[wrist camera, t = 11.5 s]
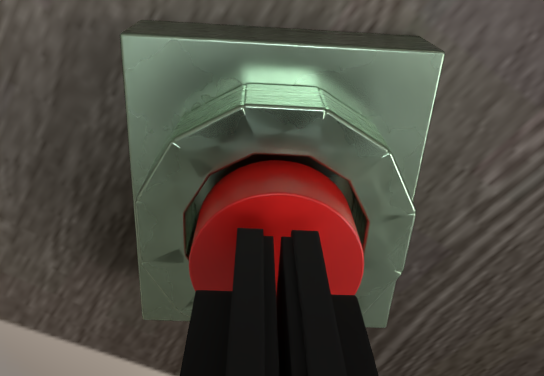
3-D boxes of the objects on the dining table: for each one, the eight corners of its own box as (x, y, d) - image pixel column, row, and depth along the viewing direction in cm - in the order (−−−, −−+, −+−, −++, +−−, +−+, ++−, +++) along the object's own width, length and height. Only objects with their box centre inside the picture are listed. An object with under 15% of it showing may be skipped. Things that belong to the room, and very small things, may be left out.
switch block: (373, 286, 18) (400, 371, 14) (155, 278, 18) (128, 363, 14) (421, 35, 14) (475, 68, 10) (139, 19, 14) (95, 47, 10)
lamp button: (342, 293, 14) (352, 339, 12) (198, 288, 13) (190, 334, 12) (362, 163, 12) (377, 197, 10) (197, 155, 12) (186, 188, 10)
